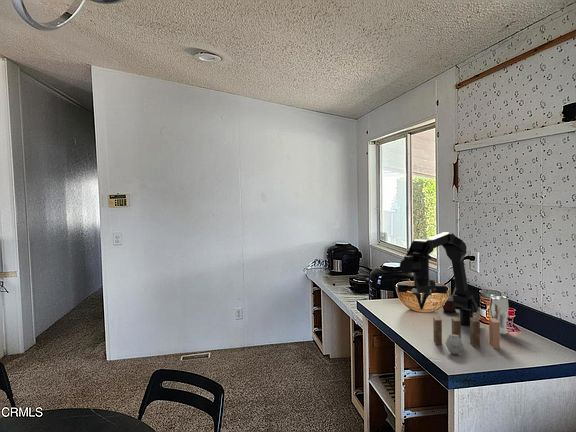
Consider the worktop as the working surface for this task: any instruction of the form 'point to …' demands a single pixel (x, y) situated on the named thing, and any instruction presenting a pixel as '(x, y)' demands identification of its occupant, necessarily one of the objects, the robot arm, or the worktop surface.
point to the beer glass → (499, 311)
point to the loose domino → (494, 332)
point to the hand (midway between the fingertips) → (421, 309)
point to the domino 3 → (475, 332)
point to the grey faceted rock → (454, 344)
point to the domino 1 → (437, 330)
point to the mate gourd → (449, 304)
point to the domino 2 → (456, 326)
